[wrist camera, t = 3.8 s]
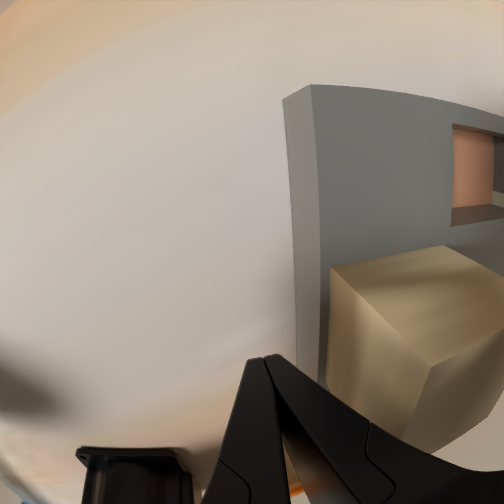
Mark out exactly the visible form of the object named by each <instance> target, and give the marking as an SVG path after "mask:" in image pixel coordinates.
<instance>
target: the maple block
mask: <svg viewBox="0 0 504 504" xmlns="http://www.w3.org/2000/svg"><path fill="white" fill-rule="evenodd" d="M325 382H326V384H327V386H328V388H329V390H330V392H331V393H332V394H333V395H334V396H336V397H337V398H338V399H340V400H341V401H343V402H344V403H345V404H347V405H348V406H350V407H351V408H352V409H354V410H355V411H357V412H358V413H360V414H361V415H362V416H364V417H365V418H367V419H368V420H370V423H371V422H373V423H374V424H376V425H377V426H379V427H380V428H382V429H383V430H385V431H387V432H388V433H390V434H391V435H393V436H395V437H396V438H398V439H400V440H402V441H403V442H405V443H407V444H409V445H411V446H413V447H415V448H417V449H419V450H422V451H424V452H426V453H428V454H432V453H434V452H435V451H437V450H439V449H441V448H442V447H444V446H445V445H447V444H449V443H450V442H452V441H453V440H455V439H456V438H458V437H460V436H461V435H462V434H464V433H466V432H467V431H468V430H470V429H471V428H473V427H474V426H476V425H477V424H478V423H480V422H481V421H482V420H484V419H485V418H486V417H488V415H489V414H490V412H491V410H492V409H493V407H494V405H495V404H496V402H497V401H498V398H499V397H500V395H501V394H502V392H503V390H504V277H502V276H500V275H499V274H497V273H495V272H493V271H492V270H490V269H488V268H486V267H484V266H482V265H481V264H479V263H477V262H475V261H473V260H471V259H470V258H468V257H466V256H464V255H462V254H460V253H458V252H456V251H454V250H452V249H450V248H448V247H446V246H444V245H440V246H435V247H430V248H425V249H421V250H416V251H411V252H406V253H400V254H395V255H390V256H385V257H380V258H375V259H369V260H364V261H359V262H353V263H348V264H342V265H337V266H331V267H330V304H329V327H328V345H327V360H326V373H325Z"/></svg>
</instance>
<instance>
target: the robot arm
mask: <svg viewBox="0 0 504 504" xmlns="http://www.w3.org/2000/svg"><path fill="white" fill-rule="evenodd" d="M282 441H283V443H284V446H285V448H286V450H287V453H288V455H289V457H290V459H291V462H292V464H293V466H294V468H295V471H296V473H297V475H298V477H299V480H300V482H301V484H302V486H303V488H304V491H305V493H306V495H307V497H308V499H309V501H310V503H311V504H504V470H502V471H490V472H483V471H473V470H469V469H465V468H462V467H459V466H457V465H454V464H452V463H449V462H447V461H444V460H442V459H440V458H437V457H435V456H433V455H431V454H428V453H426V452H424V451H422V450H419V449H417V448H415V447H413V446H411V445H409V444H407V443H405V442H403V441H402V440H400V439H398V438H396V437H395V436H393V435H391V434H390V433H388V432H387V431H385V430H383V429H382V428H380V427H379V426H377V425H376V424H374V423H373V422H371V423H370V420H368V419H367V418H365V417H364V416H362V415H361V414H360V413H358V412H357V411H355V410H354V409H352V408H351V407H350V406H348V405H347V404H345V403H344V402H343V401H341V400H340V399H338V398H337V397H336V396H334V395H333V394H331V393H330V392H329V391H327V390H326V389H325V388H323V387H322V386H320V385H319V384H318V383H316V382H315V381H314V380H312V379H311V378H310V377H308V376H307V375H306V374H304V373H303V372H302V371H300V370H299V369H298V368H296V367H295V366H294V365H293V364H291V363H290V362H289V361H287V360H286V359H285V358H283V357H282V356H281V355H279V354H273V355H268V356H265V357H264V358H262V357H258V358H253V359H248V360H247V362H246V365H245V368H244V372H243V375H242V378H241V382H240V385H239V389H238V392H237V395H236V399H235V402H234V405H233V409H232V412H231V415H230V419H229V422H228V425H227V428H226V432H225V435H224V438H223V441H222V445H221V448H220V451H219V454H218V457H217V460H218V461H216V463H215V466H214V469H213V472H212V475H211V478H210V481H209V483H208V486H207V489H206V491H205V494H204V496H203V498H202V491H201V487H200V486H199V484H198V482H197V481H196V479H195V478H194V476H193V474H191V473H190V472H189V471H186V469H185V467H184V466H183V464H182V462H181V461H180V459H179V457H178V456H177V454H176V453H175V452H173V451H169V450H161V451H113V450H95V449H82V448H78V449H77V450H76V454H75V456H76V457H77V458H78V459H79V460H80V461H81V463H82V464H83V465H84V466H85V467H86V468H87V472H86V478H85V483H84V489H83V496H82V503H81V504H291V501H290V493H289V486H288V479H287V471H286V464H285V457H284V450H283V443H282Z"/></svg>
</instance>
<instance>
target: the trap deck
mask: <svg viewBox="0 0 504 504" xmlns="http://www.w3.org/2000/svg"><path fill="white" fill-rule="evenodd" d="M283 109H284V120H285V131H286V142H287V154H288V167H289V181H290V195H291V211H292V228H293V248H294V271H295V300H296V349H297V368H298V369H299V370H300V371H302V372H303V373H304V374H306V375H307V376H308V377H310V378H311V379H312V380H314V381H315V382H316V383H318V384H319V385H320V386H322V387H323V388H325V389H326V390H327V391H329V392H330V390H329V388H328V386H327V384H326V382H325V373H326V360H327V345H328V327H329V304H330V267H331V266H337V265H342V264H348V263H353V262H359V261H364V260H369V259H375V258H380V257H385V256H390V255H395V254H400V253H406V252H411V251H416V250H421V249H425V248H430V247H435V246H440V245H444V246H446V247H448V248H450V249H452V250H454V251H456V252H458V253H460V254H462V255H464V256H466V257H468V258H470V259H471V260H473V261H475V262H477V263H479V264H481V265H482V266H484V267H486V268H488V269H490V270H492V271H493V272H495V273H497V274H499V275H500V276H502V277H504V117H501V116H498V115H495V114H491V113H488V112H485V111H482V110H478V109H475V108H471V107H467V106H464V105H460V104H456V103H452V102H447V101H443V100H438V99H434V98H429V97H424V96H418V95H413V94H407V93H400V92H394V91H386V90H379V89H370V88H360V87H349V86H334V85H311V84H310V85H308V86H306V87H304V88H302V89H300V90H299V91H297V92H295V93H293V94H291V95H289V96H288V97H286V98H284V99H283ZM330 393H331V392H330ZM331 394H332V393H331Z"/></svg>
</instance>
